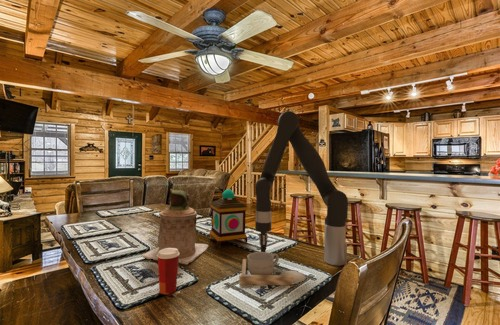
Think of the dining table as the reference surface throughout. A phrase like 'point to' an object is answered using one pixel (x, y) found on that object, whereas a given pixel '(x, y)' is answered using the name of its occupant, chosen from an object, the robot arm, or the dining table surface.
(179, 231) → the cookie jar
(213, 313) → the dining table surface
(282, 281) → the cup rest
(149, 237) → the dining table surface
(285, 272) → the felt coaster
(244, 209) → the decorative lantern
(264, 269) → the teacup
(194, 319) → the dining table surface
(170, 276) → the paper cup
